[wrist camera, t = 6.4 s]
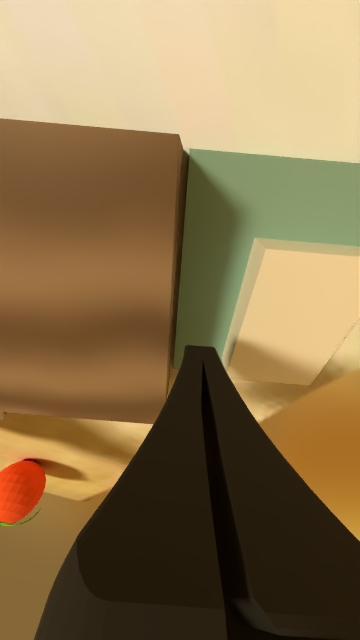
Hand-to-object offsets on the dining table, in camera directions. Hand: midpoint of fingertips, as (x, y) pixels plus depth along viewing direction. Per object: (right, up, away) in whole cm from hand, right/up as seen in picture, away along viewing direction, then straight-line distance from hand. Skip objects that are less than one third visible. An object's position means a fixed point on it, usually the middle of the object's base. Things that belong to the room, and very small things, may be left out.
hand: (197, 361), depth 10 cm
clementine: (-23, -20, +22) cm, 38 cm away
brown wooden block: (-7, +3, +4) cm, 9 cm away
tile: (+6, +1, +2) cm, 6 cm away
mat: (+5, +3, +3) cm, 7 cm away
